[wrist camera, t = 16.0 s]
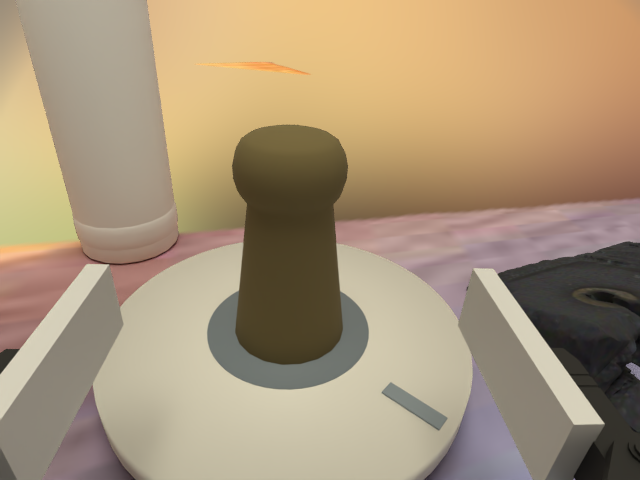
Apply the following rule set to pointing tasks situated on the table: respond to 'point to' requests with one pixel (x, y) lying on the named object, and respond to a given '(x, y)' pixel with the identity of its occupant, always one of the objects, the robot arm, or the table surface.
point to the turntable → (283, 381)
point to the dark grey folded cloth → (589, 315)
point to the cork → (289, 243)
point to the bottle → (105, 122)
